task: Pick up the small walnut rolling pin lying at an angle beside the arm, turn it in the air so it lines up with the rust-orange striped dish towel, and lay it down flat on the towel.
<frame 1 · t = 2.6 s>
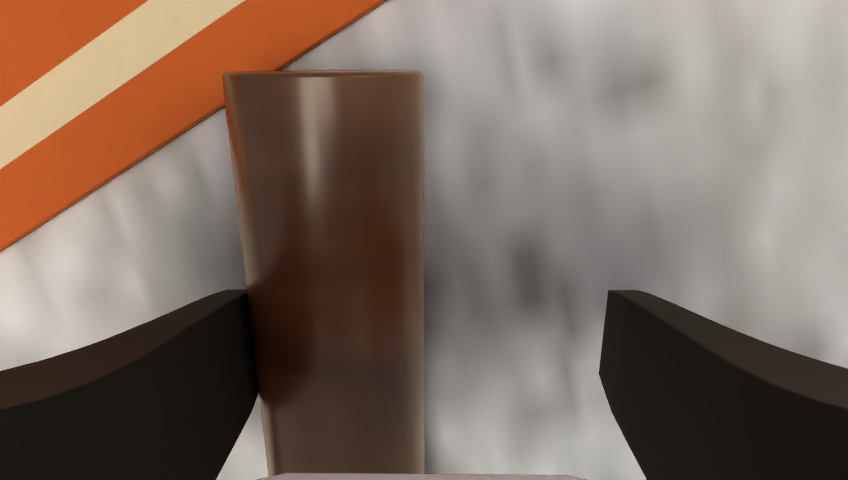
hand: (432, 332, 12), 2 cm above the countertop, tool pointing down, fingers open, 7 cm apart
rolling pin: (340, 337, 12), point 2 cm above the countertop, tilted 82°, touching gripper
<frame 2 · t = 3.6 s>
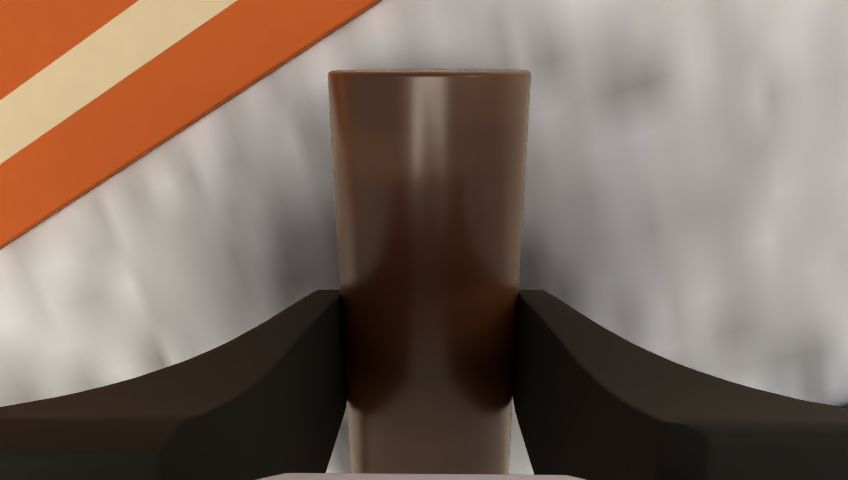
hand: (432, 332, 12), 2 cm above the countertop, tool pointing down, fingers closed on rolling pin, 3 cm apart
rolling pin: (429, 342, 11), point 2 cm above the countertop, tilted 49°, touching gripper
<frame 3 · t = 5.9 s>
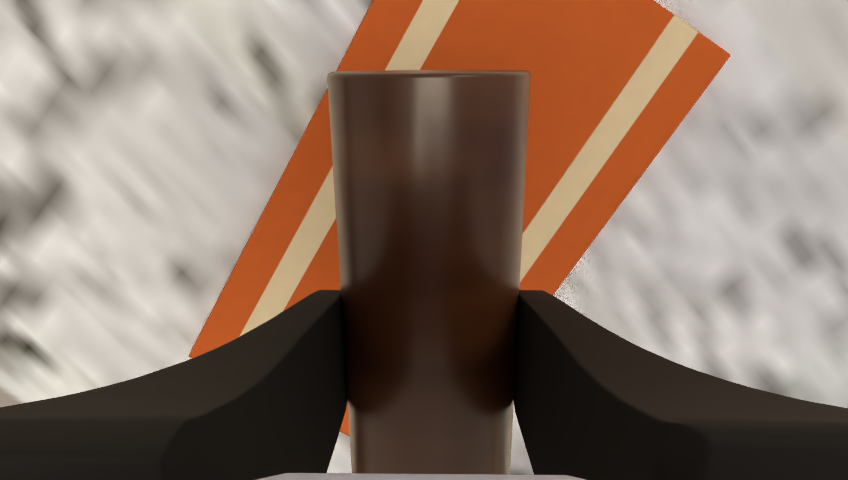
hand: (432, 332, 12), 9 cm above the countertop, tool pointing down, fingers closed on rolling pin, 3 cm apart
rolling pin: (430, 343, 11), point 9 cm above the countertop, tilted 49°, touching gripper
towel: (432, 218, 20), on the countertop
when the fingers open (2 cm above the countertop, at t = 8.6 s): rolling pin stays where it is, resting on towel.
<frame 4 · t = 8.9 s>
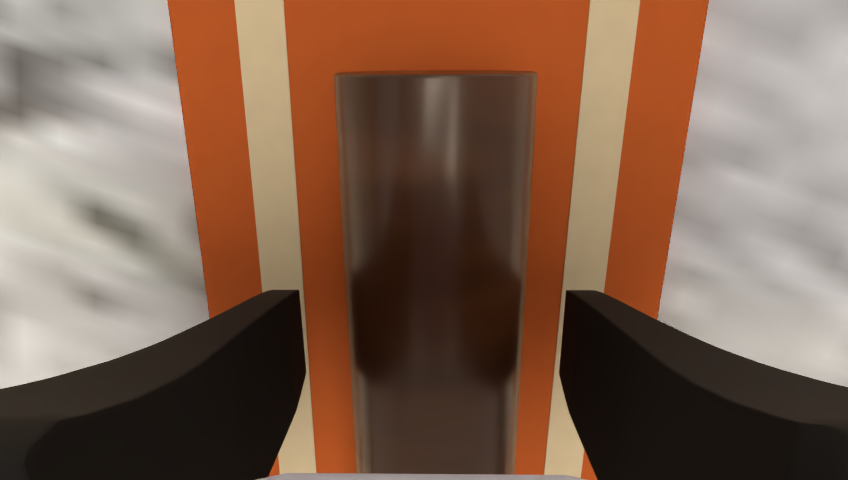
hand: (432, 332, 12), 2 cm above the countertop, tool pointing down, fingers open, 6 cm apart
rolling pin: (435, 344, 11), point 2 cm above the countertop, tilted 45°, touching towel
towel: (432, 296, 13), on the countertop
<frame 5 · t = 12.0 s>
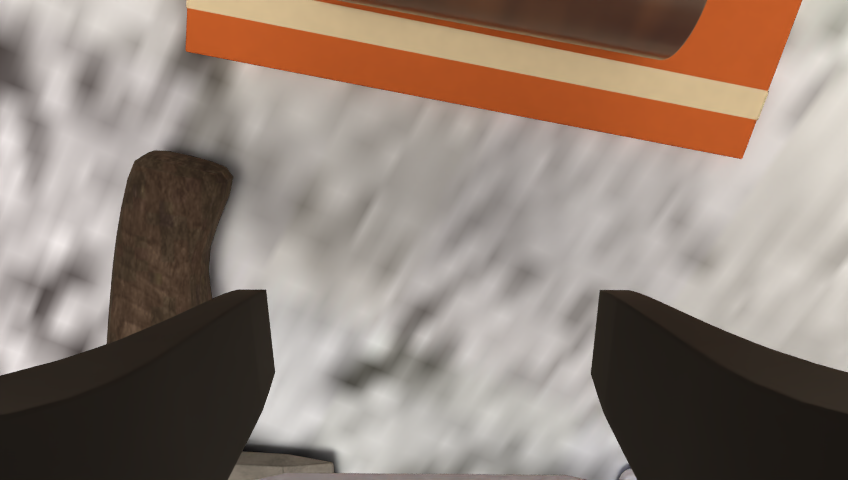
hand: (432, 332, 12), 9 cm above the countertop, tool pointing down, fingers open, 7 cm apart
cleaver: (231, 468, 25), on the countertop
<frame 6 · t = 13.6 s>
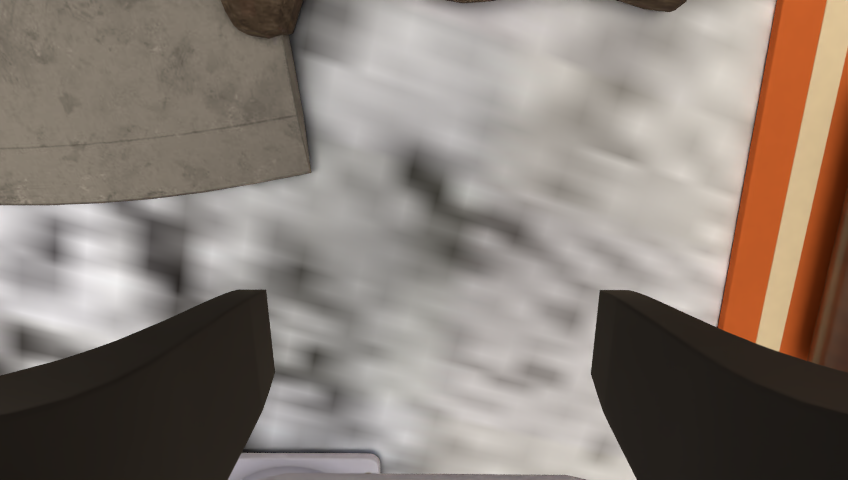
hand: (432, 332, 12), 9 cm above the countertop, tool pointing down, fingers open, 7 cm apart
cleaver: (247, 37, 19), on the countertop
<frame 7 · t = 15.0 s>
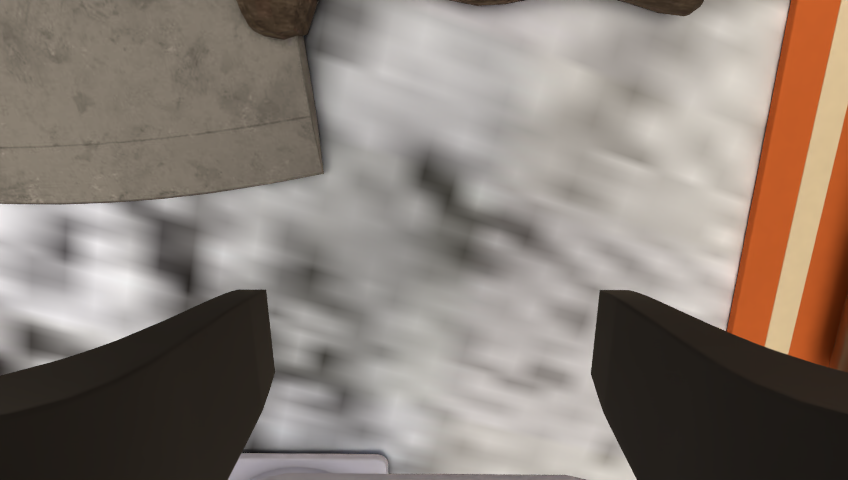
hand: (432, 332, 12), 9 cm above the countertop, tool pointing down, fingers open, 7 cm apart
cleaver: (261, 38, 19), on the countertop
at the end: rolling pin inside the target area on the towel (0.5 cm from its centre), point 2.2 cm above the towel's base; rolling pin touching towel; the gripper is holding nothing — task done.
